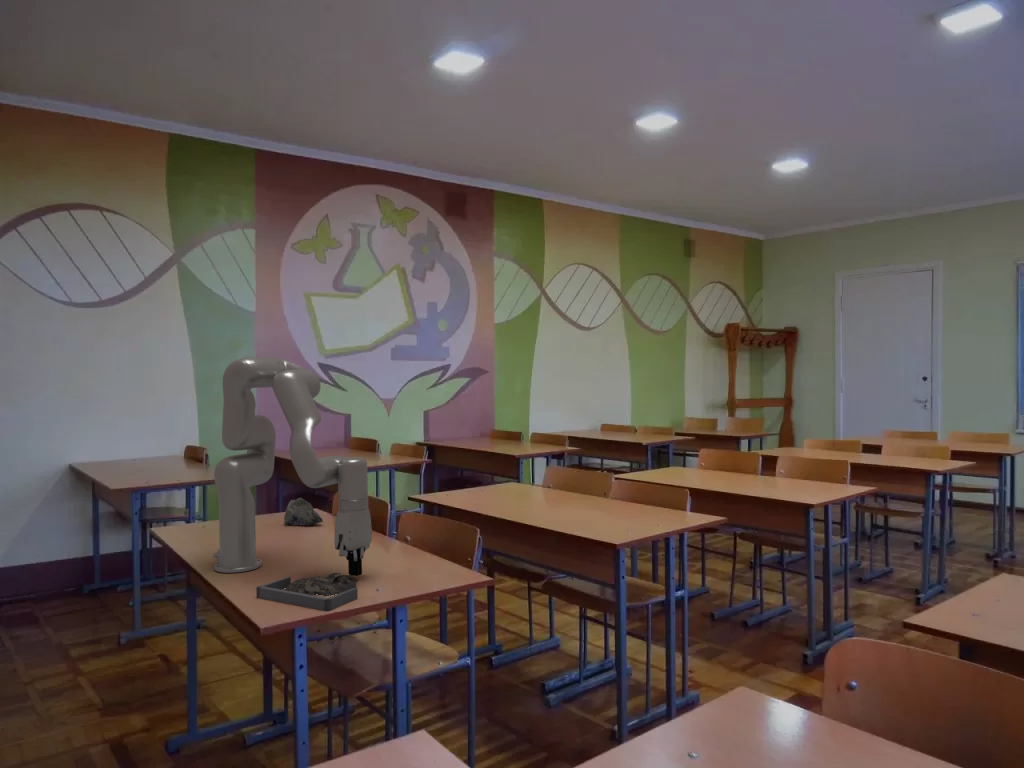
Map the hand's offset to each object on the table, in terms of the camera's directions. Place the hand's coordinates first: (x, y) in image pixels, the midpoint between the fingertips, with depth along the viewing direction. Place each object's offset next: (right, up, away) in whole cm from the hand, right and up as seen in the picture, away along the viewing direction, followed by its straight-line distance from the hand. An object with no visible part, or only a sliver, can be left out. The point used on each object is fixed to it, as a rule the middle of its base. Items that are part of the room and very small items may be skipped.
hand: (355, 574), depth 190 cm
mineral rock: (-34, -1, +70) cm, 78 cm away
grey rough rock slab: (-6, -2, -7) cm, 10 cm away
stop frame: (-9, -2, -15) cm, 17 cm away
